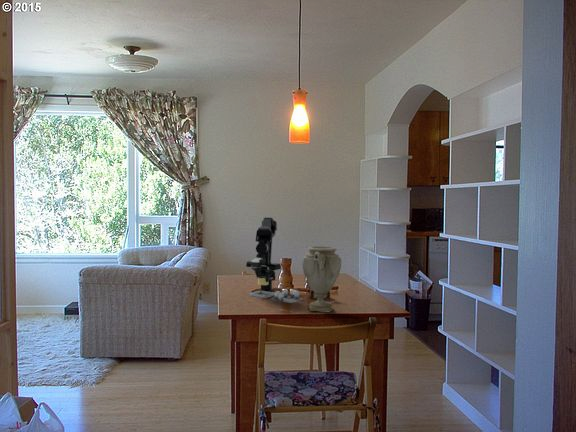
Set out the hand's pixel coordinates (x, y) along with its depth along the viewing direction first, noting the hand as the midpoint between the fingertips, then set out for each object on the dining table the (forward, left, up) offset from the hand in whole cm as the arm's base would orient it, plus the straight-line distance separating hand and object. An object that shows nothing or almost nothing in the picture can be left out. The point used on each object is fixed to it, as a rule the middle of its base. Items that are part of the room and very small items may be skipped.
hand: (263, 281), depth 294 cm
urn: (+8, +39, -8) cm, 41 cm away
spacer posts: (0, +15, -8) cm, 17 cm away
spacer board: (0, +15, -8) cm, 17 cm away
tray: (0, 0, -8) cm, 8 cm away
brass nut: (0, 0, -1) cm, 1 cm away
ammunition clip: (-13, +27, -8) cm, 31 cm away
